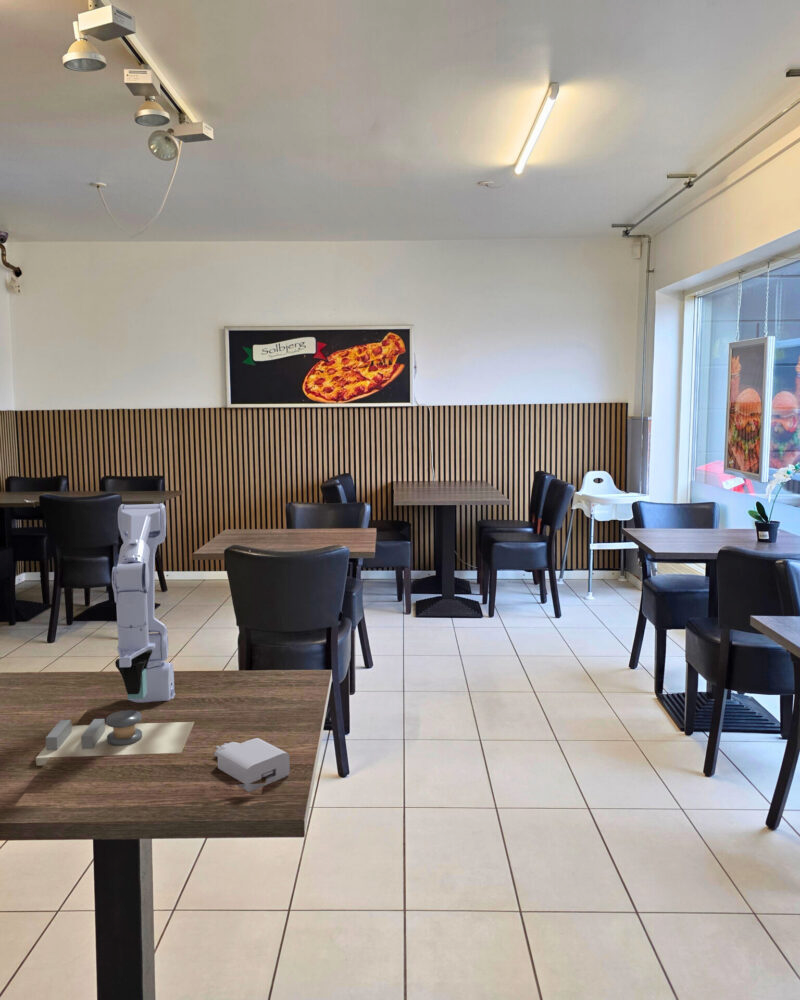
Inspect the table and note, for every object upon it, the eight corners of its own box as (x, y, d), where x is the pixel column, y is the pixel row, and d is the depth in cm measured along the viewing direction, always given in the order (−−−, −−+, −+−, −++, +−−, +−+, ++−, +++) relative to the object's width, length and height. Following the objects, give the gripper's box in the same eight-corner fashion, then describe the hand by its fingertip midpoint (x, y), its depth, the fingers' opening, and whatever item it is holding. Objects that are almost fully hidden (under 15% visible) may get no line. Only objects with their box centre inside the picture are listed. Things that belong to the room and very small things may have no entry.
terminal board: (194, 728, 159) (194, 721, 158) (181, 760, 145) (181, 752, 145) (62, 733, 156) (62, 726, 156) (36, 765, 143) (35, 757, 142)
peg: (146, 692, 156) (145, 668, 155) (143, 698, 153) (142, 674, 153) (131, 693, 156) (130, 669, 155) (127, 699, 153) (126, 674, 152)
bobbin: (145, 731, 154) (144, 709, 153) (137, 745, 148) (136, 723, 147) (112, 732, 153) (111, 710, 153) (102, 746, 147) (101, 724, 146)
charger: (241, 749, 150) (290, 776, 139) (199, 766, 143) (246, 794, 133) (241, 726, 149) (289, 750, 139) (198, 741, 143) (246, 768, 132)
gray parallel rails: (105, 730, 154) (104, 718, 154) (92, 748, 146) (92, 735, 146) (61, 732, 153) (60, 720, 153) (46, 750, 145) (45, 737, 145)
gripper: (145, 634, 146) (148, 703, 148) (161, 612, 160) (163, 676, 162) (106, 635, 145) (109, 705, 147) (126, 613, 159) (128, 677, 161)
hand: (135, 690), depth 154 cm, fingers closed on peg, 3 cm apart
